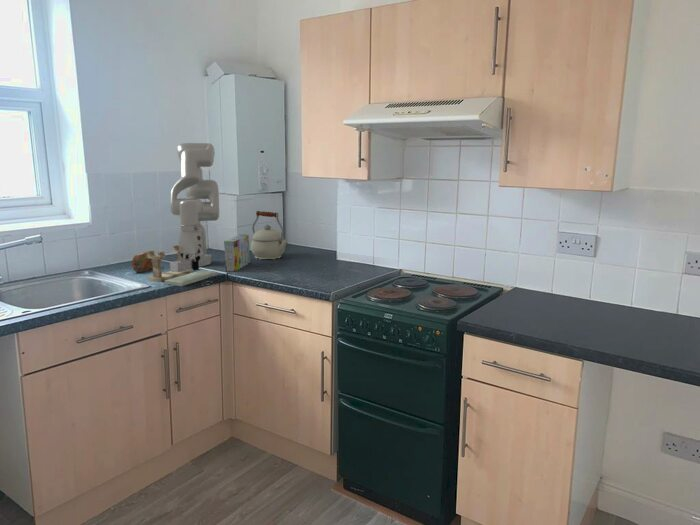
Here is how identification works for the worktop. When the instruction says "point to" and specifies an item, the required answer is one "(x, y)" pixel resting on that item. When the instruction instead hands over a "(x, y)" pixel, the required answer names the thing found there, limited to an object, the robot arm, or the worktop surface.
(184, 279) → the board
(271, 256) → the kettle
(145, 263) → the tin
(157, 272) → the rack
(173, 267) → the rail
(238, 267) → the snack box
